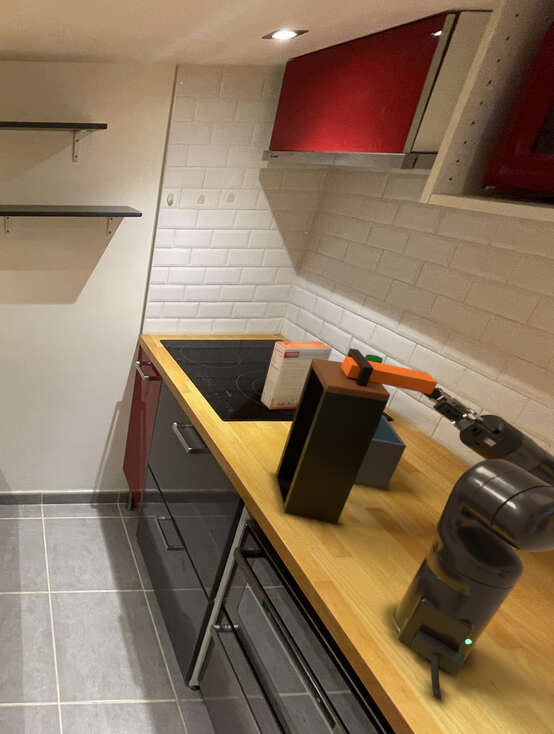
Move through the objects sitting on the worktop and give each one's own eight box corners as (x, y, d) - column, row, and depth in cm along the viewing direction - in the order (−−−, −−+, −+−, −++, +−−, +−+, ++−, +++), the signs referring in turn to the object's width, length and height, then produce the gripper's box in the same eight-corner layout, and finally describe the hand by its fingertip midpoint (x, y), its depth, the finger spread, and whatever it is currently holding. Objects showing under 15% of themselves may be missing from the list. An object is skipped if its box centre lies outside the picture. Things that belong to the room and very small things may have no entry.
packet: (420, 384, 87) (427, 372, 86) (431, 394, 83) (438, 382, 82) (340, 367, 91) (345, 355, 90) (346, 376, 87) (352, 364, 86)
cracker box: (301, 400, 143) (320, 340, 134) (313, 410, 138) (334, 348, 129) (258, 400, 142) (275, 340, 134) (269, 410, 137) (286, 348, 128)
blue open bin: (367, 456, 117) (384, 415, 111) (386, 489, 105) (406, 446, 100) (309, 445, 121) (323, 405, 115) (321, 476, 109) (337, 433, 104)
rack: (321, 485, 106) (373, 348, 91) (336, 524, 95) (398, 375, 80) (275, 475, 109) (317, 341, 94) (284, 512, 98) (334, 366, 83)
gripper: (498, 412, 89) (429, 364, 90) (547, 454, 76) (467, 398, 77) (461, 435, 93) (395, 389, 93) (502, 478, 80) (426, 425, 81)
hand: (428, 393), depth 85 cm, fingers open, 8 cm apart
